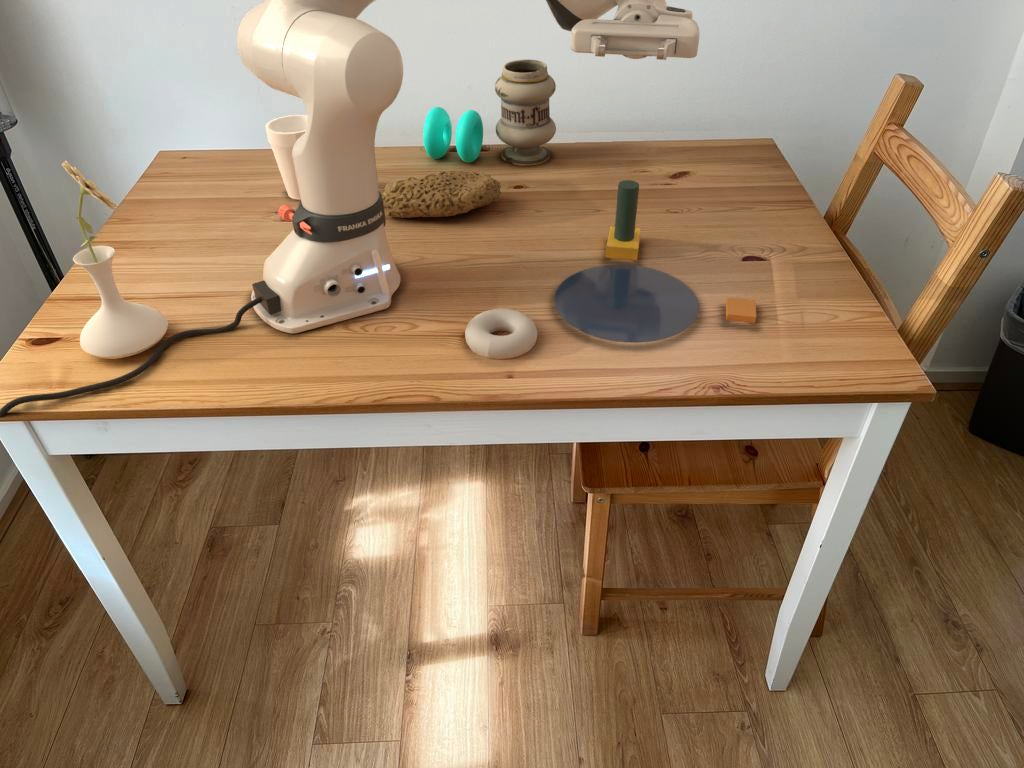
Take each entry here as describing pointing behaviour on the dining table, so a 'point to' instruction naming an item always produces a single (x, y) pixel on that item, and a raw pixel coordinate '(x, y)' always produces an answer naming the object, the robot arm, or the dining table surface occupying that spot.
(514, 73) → the apothecary jar
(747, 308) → the orange block
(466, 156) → the donuts
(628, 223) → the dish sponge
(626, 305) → the plate
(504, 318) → the donut
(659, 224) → the dining table surface
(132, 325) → the flower in vase
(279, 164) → the foam cup
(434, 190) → the sponge
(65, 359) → the dining table surface
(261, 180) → the dining table surface
